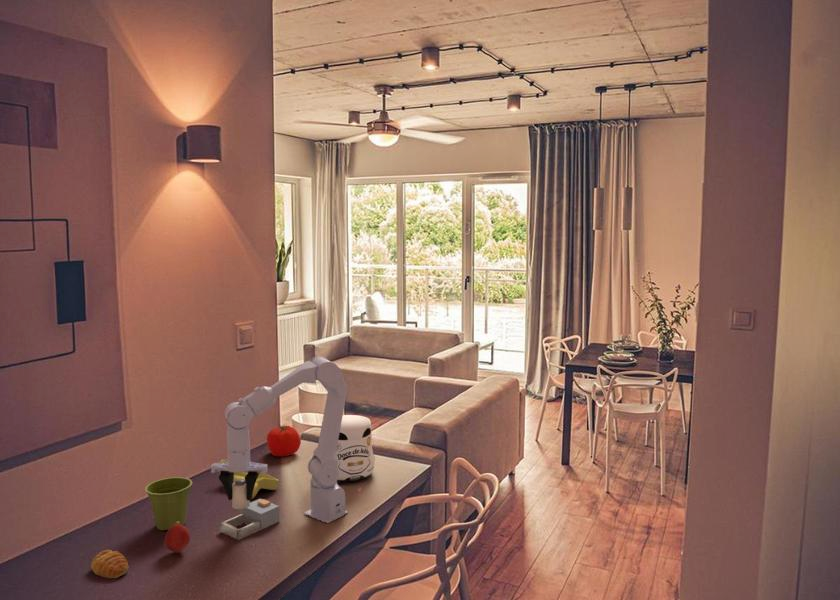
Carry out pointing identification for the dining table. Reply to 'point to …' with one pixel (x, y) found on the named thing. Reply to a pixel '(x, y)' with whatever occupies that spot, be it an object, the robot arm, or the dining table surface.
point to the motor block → (263, 512)
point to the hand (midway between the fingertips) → (240, 498)
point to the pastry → (109, 564)
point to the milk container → (355, 448)
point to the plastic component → (258, 481)
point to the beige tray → (230, 524)
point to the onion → (177, 538)
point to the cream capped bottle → (239, 494)
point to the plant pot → (169, 500)
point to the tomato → (283, 441)
